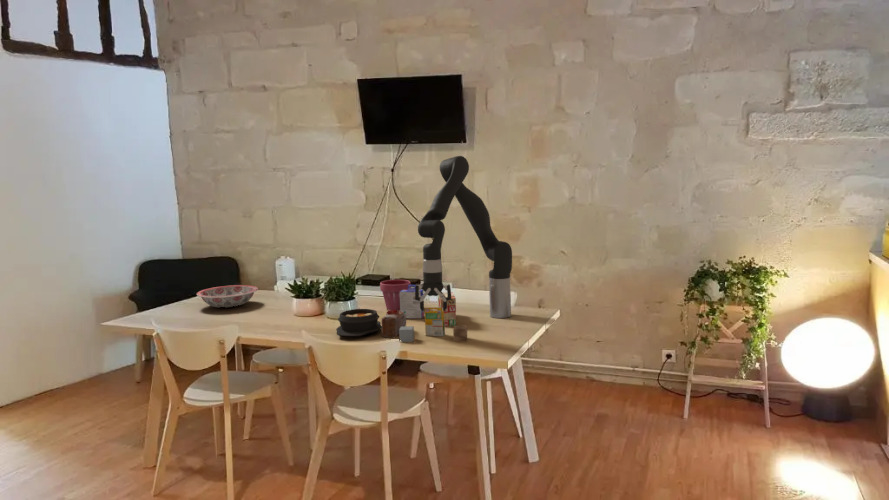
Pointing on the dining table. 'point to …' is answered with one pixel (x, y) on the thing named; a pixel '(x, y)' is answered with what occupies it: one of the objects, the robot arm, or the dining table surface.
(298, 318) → the dining table surface
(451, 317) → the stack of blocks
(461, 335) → the walnut block
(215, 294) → the ceramic bowl
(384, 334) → the food item
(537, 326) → the dining table surface
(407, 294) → the ink cartridge box
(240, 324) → the dining table surface
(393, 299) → the plant pot
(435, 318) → the crayon box
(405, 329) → the slate-grey block
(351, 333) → the casserole
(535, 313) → the dining table surface
